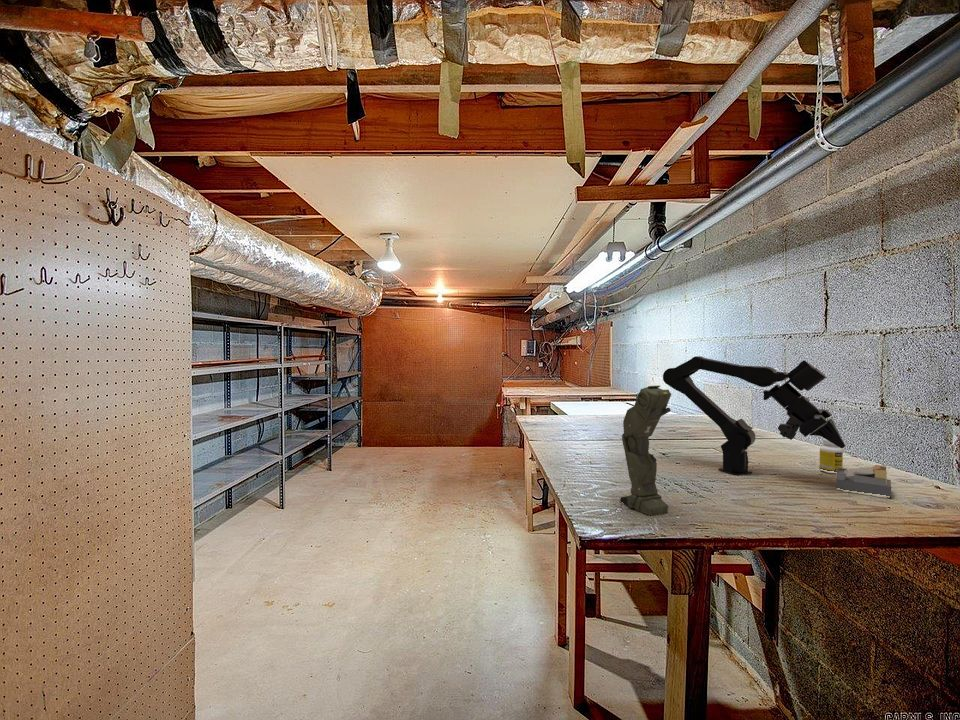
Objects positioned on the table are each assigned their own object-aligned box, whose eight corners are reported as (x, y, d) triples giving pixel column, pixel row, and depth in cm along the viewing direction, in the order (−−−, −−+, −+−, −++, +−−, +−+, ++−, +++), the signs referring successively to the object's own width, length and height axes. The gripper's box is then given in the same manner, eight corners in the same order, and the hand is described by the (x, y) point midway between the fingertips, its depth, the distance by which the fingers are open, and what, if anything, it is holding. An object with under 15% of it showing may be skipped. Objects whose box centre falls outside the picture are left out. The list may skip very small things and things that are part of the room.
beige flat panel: (837, 473, 116) (879, 468, 110) (838, 469, 119) (879, 465, 113) (839, 478, 115) (881, 473, 110) (840, 474, 119) (881, 469, 113)
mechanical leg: (606, 494, 111) (624, 379, 104) (629, 490, 114) (648, 378, 107) (643, 526, 99) (666, 398, 92) (669, 521, 101) (693, 397, 94)
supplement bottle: (837, 475, 128) (837, 442, 128) (816, 471, 133) (815, 439, 133) (846, 473, 131) (846, 440, 131) (824, 469, 136) (824, 437, 136)
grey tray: (835, 490, 114) (835, 465, 114) (838, 483, 120) (837, 460, 120) (891, 499, 107) (891, 472, 107) (890, 491, 113) (890, 466, 113)
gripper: (774, 416, 134) (819, 458, 127) (762, 424, 121) (812, 471, 113) (807, 392, 129) (856, 435, 122) (798, 397, 115) (853, 446, 108)
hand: (843, 447), depth 116 cm, fingers closed
